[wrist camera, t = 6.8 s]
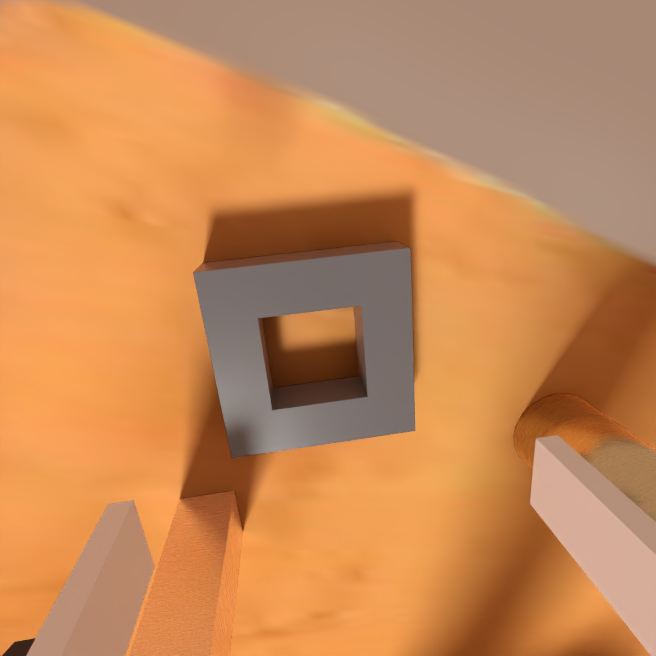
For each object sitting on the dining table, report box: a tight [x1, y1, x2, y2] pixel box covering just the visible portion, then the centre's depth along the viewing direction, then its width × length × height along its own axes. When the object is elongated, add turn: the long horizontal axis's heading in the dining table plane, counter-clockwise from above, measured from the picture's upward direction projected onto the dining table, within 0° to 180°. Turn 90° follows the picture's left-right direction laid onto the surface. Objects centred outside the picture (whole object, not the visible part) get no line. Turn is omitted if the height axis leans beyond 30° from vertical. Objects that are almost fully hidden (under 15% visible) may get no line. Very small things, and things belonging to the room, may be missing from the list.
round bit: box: [514, 393, 656, 522], centre depth 27 cm, size 6×6×10 cm
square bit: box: [130, 491, 243, 656], centre depth 25 cm, size 4×4×12 cm
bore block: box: [193, 241, 415, 458], centre depth 26 cm, size 12×12×3 cm
